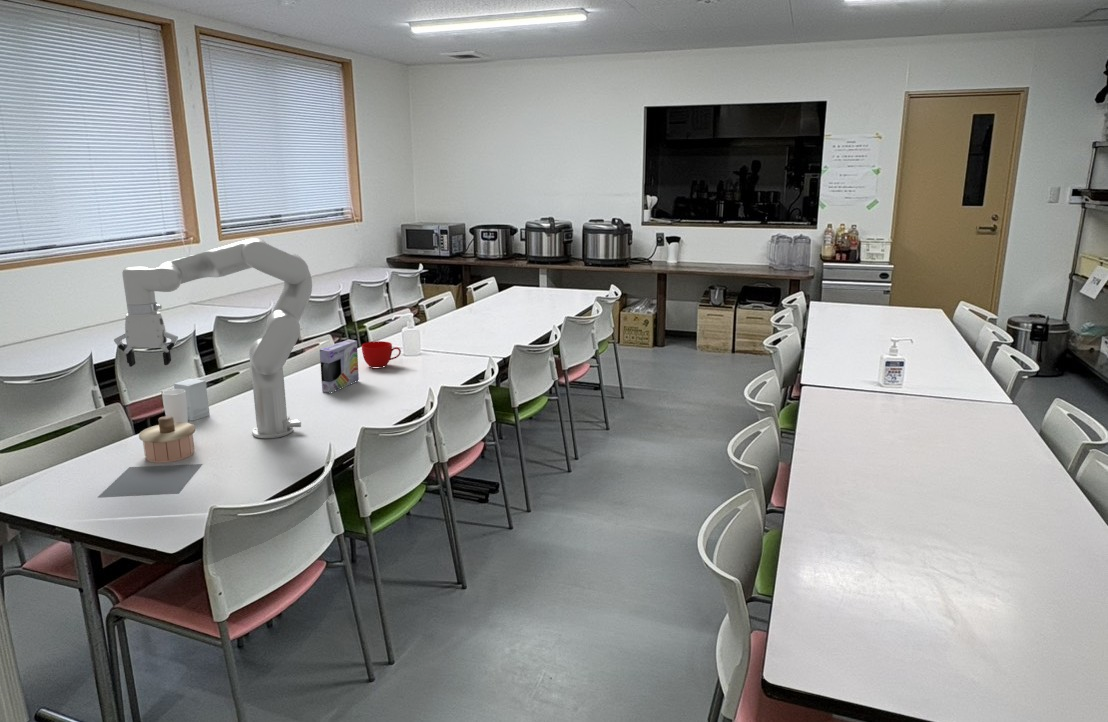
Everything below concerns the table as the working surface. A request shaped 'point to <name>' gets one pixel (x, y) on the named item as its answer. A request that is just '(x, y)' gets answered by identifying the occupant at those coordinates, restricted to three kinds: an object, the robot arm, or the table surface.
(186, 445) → the bowl
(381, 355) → the ceramic cup
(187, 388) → the supplement box
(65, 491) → the table surface
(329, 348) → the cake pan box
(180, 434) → the lid
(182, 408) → the drinking glass
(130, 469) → the mat
